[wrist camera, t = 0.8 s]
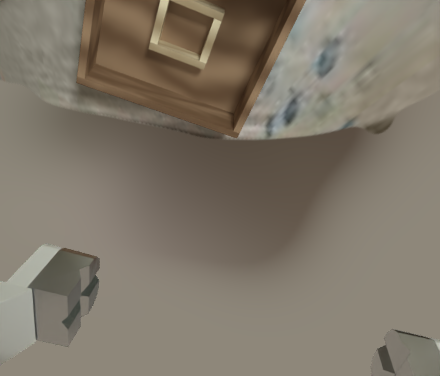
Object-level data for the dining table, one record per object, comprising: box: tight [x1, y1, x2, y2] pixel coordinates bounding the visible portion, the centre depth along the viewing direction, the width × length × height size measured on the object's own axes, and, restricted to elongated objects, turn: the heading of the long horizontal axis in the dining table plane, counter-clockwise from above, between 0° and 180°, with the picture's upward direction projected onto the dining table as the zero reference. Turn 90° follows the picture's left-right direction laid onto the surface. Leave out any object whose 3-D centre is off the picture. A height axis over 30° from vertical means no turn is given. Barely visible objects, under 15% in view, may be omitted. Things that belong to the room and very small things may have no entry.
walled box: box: [76, 0, 306, 138], centre depth 48 cm, size 22×24×6 cm
